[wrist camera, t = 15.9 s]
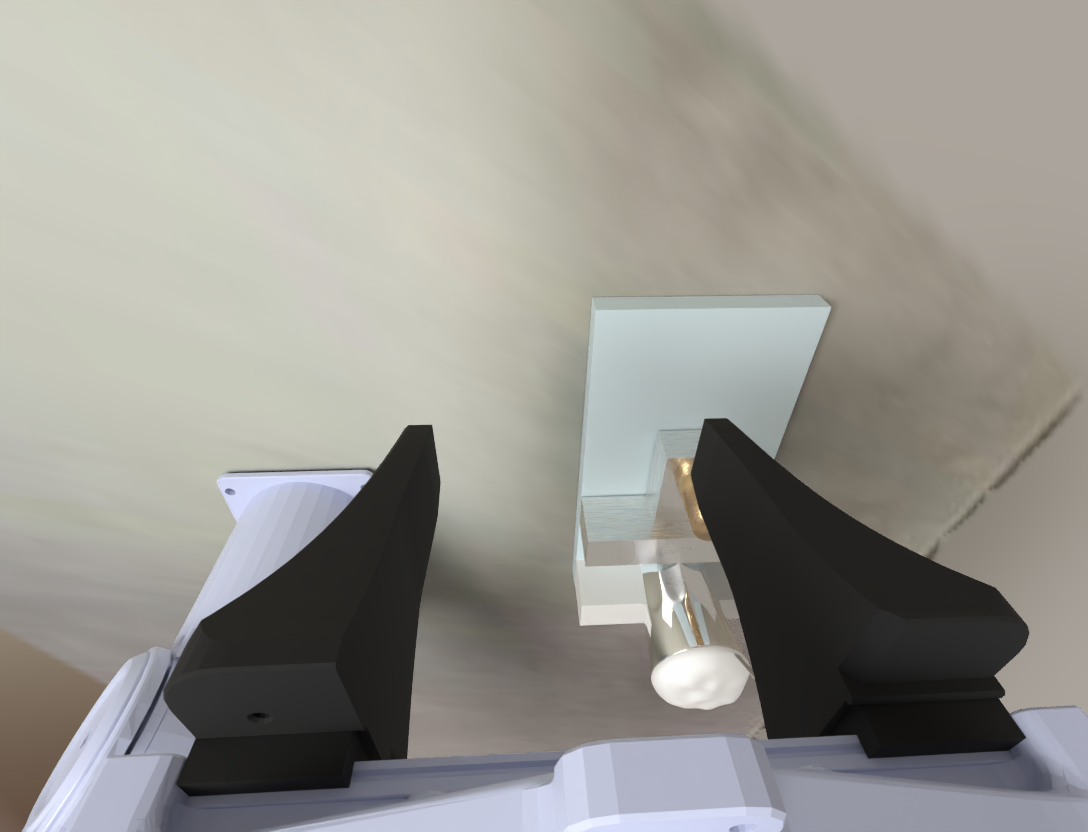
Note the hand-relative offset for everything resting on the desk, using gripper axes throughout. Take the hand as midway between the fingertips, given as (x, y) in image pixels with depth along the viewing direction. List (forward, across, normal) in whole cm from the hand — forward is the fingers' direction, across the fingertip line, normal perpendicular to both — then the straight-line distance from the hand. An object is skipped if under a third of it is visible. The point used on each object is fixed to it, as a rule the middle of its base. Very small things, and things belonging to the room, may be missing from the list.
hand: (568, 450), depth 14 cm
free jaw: (+9, -7, +10) cm, 15 cm away
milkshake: (+9, -7, +15) cm, 19 cm away
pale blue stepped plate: (+10, -7, +10) cm, 16 cm away
